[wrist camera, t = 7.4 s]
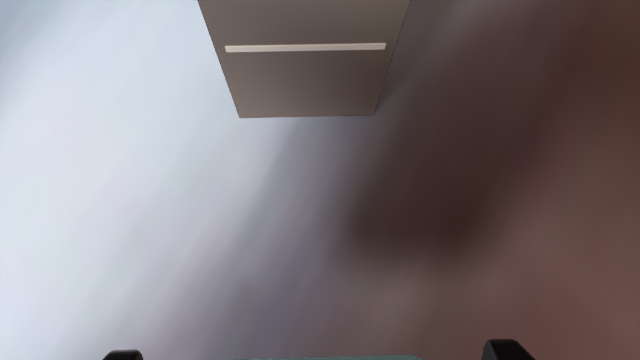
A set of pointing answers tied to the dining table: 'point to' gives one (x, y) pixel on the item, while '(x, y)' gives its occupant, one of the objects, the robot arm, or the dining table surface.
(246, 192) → the dining table surface
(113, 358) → the robot arm
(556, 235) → the dining table surface
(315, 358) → the teal domino
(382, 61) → the domino
